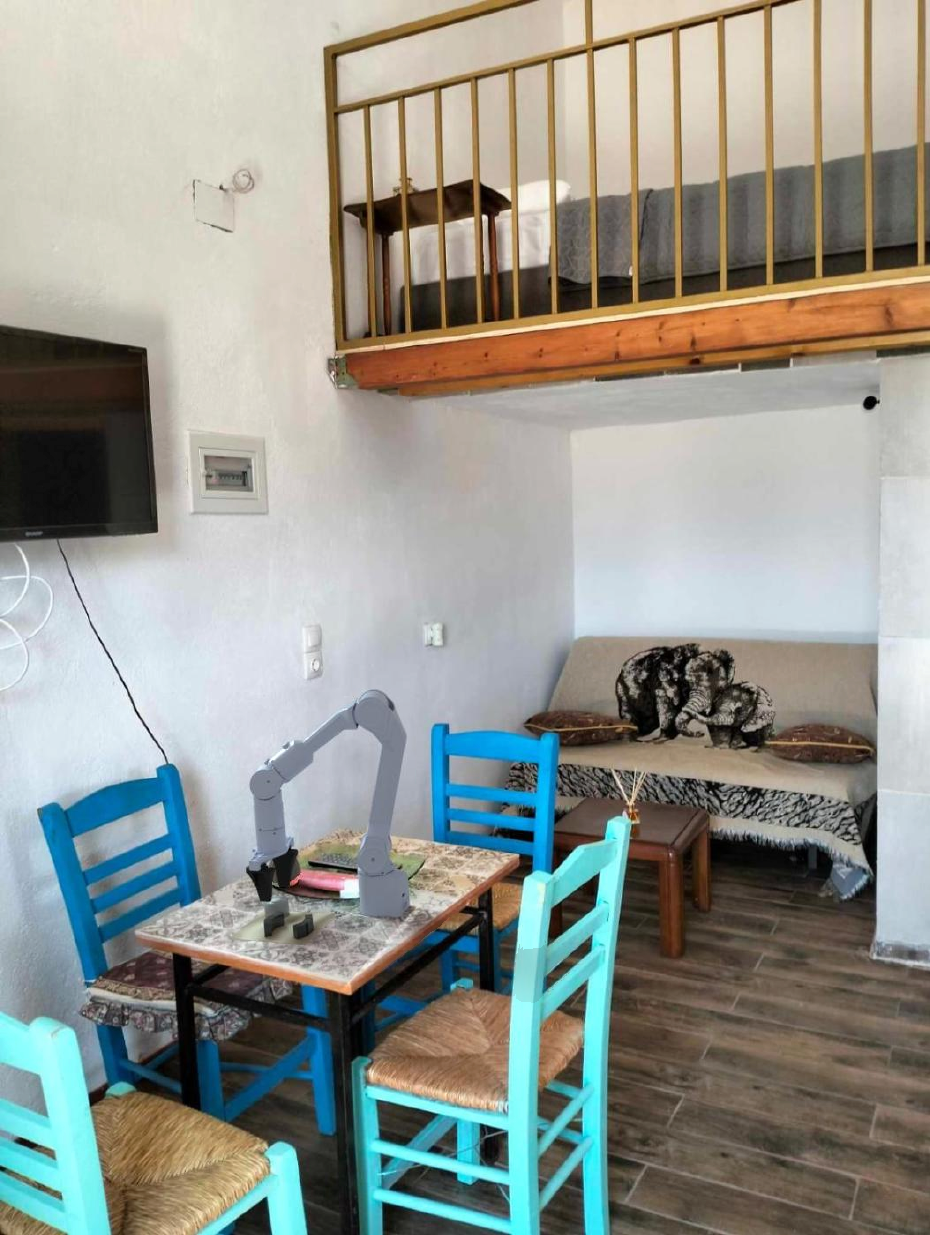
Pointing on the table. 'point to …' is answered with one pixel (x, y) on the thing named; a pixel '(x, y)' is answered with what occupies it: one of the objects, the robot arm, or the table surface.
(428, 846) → the table surface
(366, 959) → the table surface
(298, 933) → the split dark grey block
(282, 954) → the table surface
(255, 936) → the board
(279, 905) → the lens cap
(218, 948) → the table surface
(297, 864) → the vase
